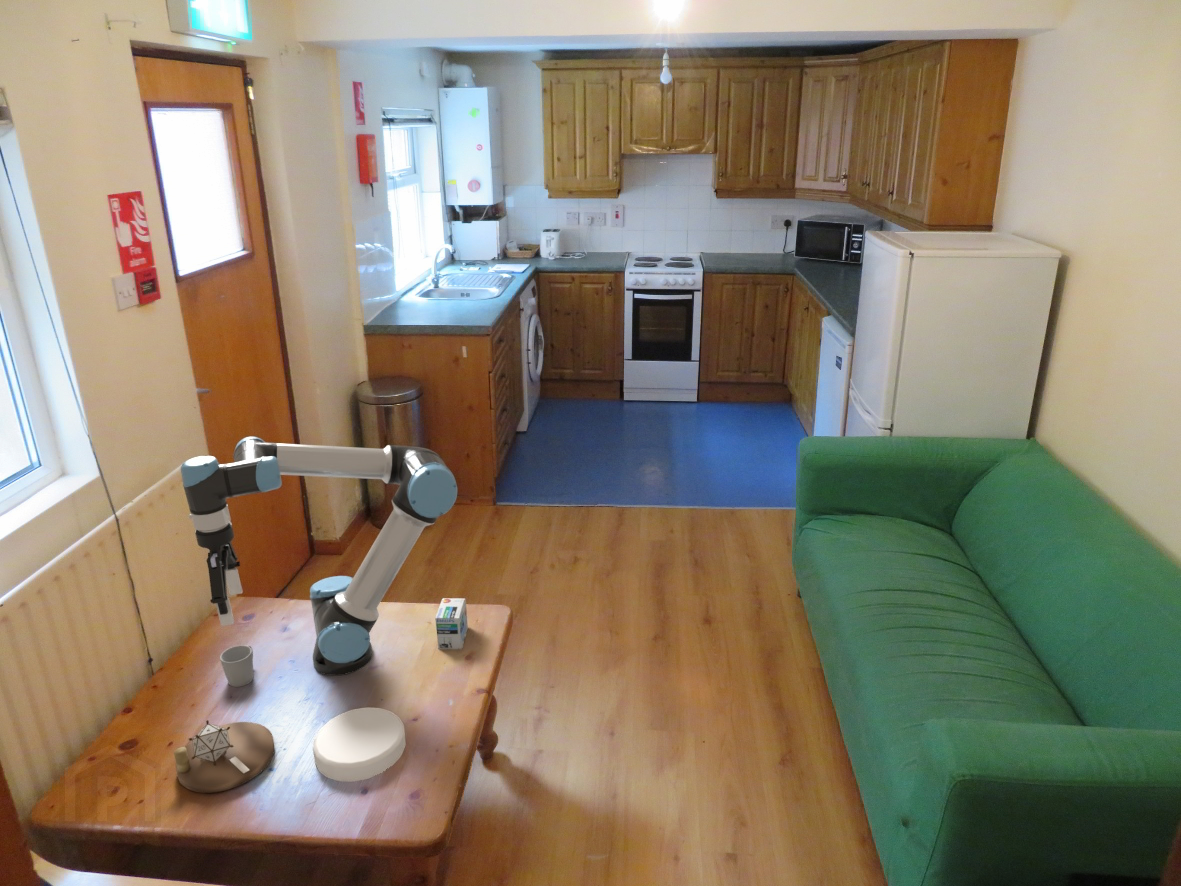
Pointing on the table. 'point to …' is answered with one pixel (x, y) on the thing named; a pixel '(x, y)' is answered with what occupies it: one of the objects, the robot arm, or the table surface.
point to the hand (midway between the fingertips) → (232, 608)
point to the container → (359, 744)
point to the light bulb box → (451, 623)
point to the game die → (211, 743)
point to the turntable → (227, 760)
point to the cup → (238, 665)
